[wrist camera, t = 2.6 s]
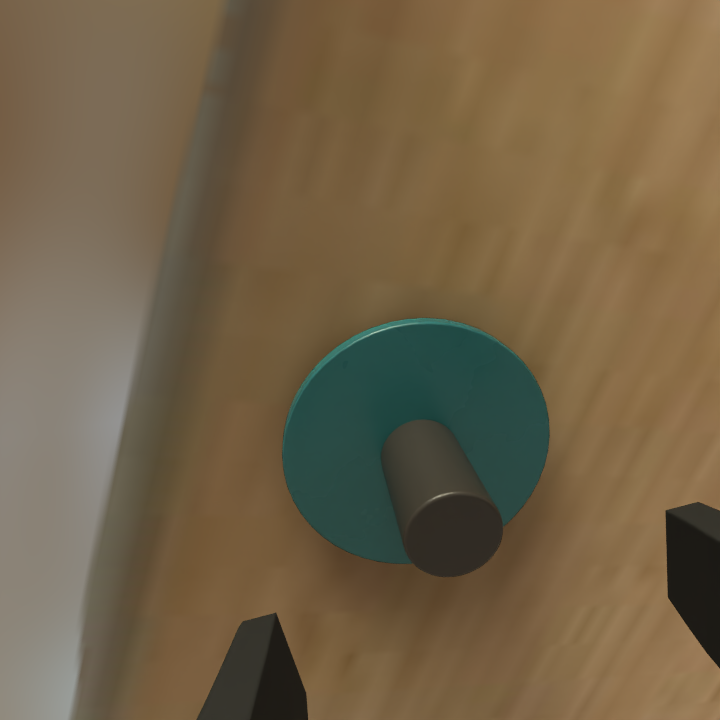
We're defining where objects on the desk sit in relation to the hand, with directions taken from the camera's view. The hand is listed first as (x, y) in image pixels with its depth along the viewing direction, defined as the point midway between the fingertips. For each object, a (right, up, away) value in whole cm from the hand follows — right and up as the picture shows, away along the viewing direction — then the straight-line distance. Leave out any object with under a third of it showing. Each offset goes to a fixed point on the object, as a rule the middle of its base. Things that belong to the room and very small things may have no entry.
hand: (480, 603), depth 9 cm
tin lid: (-1, +2, +6) cm, 6 cm away
